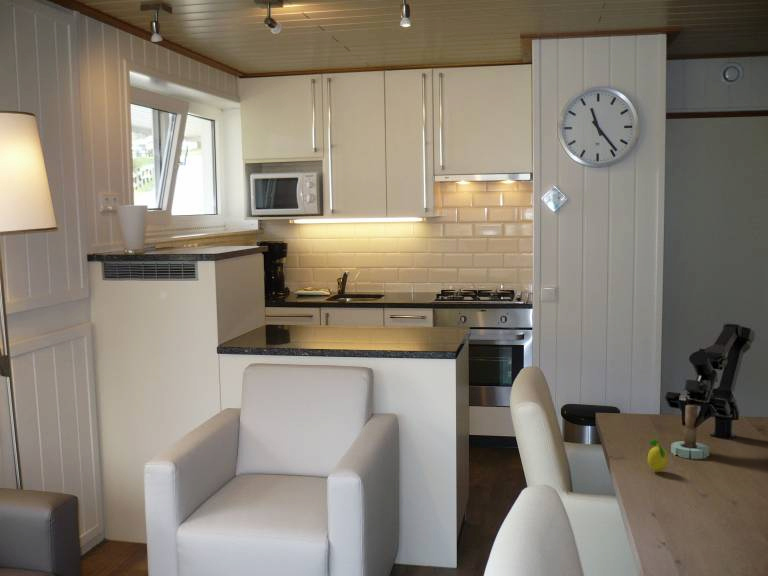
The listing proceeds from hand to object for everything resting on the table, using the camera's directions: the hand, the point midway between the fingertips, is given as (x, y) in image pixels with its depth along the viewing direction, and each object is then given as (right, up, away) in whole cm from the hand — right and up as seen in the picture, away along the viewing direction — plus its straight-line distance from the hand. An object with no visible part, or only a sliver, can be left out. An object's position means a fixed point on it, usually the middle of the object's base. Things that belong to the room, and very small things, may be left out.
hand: (689, 426), depth 253 cm
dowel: (+1, -7, +2) cm, 7 cm away
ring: (+1, -9, +2) cm, 9 cm away
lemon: (-15, -11, -16) cm, 25 cm away
